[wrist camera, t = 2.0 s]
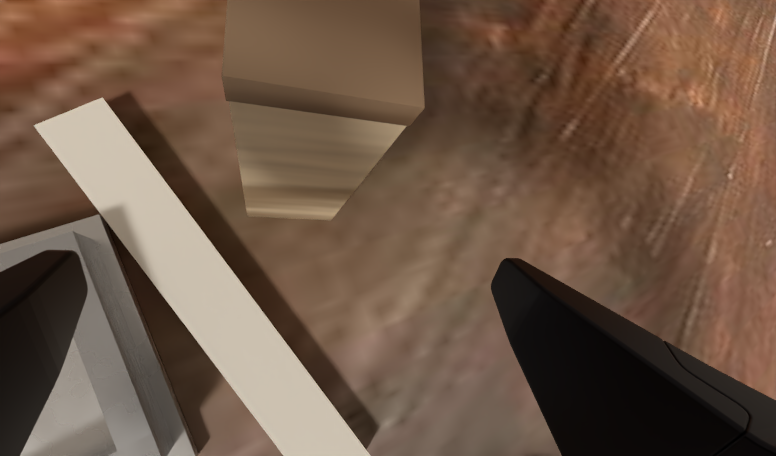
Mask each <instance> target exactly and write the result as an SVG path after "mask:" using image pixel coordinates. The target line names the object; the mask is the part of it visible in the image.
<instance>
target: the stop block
mask: <svg viewBox="0 0 776 456" xmlns="http://www.w3.org/2000/svg"><path fill="white" fill-rule="evenodd" d="M222 80H223V86H224V92H225V97H226V101H229V105H230V111H231V117H232V123H233V130H234V136H235V142H236V148H237V154H238V161H239V167H240V173H241V179H242V185H243V191H244V198H245V204H246V210H247V216H252V217H272V218H292V219H313V220H332V218H333V217H334V216H335V215H336V213H337V212H338V211H339V210H340V208H341V207H342V206H343V205H344V204H345V202H346V201H347V200H348V199H349V197H350V196H351V195H352V194H353V192H354V191H355V190H356V189H357V187H358V186H359V185H360V184H361V182H362V181H363V180H364V179H365V177H366V176H367V175H368V174H369V172H370V171H371V170H372V169H373V167H374V166H375V165H376V164H377V162H378V161H379V160H380V159H381V157H382V156H383V155H384V154H385V152H386V151H387V150H388V149H389V147H390V146H391V145H392V144H393V142H394V141H395V140H396V139H397V137H398V136H399V135H400V134H401V132H402V131H403V130H404V129H405V127H406V126H410V125H411V124H412V123H413V122H414V120H415V119H416V118H417V117H418V116H419V114H420V113H421V112H422V111H423V109H424V108H425V105H424V84H423V64H422V43H421V22H420V1H419V0H227V12H226V25H225V39H224V52H223V65H222Z"/></svg>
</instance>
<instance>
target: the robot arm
mask: <svg viewBox="0 0 776 456" xmlns="http://www.w3.org/2000/svg"><path fill="white" fill-rule="evenodd" d="M491 290H492V294H493V297H494V300H495V302H496V305H497V308H498V311H499V314H500V317H501V320H502V322H503V325H504V328H505V331H506V334H507V337H508V339H509V342H510V344H511V347H512V349H513V351H514V353H515V356H516V358H517V360H518V362H519V364H520V366H521V369H522V371H523V373H524V375H525V377H526V379H527V382H528V384H529V386H530V388H531V390H532V392H533V394H534V397H535V399H536V401H537V403H538V405H539V407H540V410H541V412H542V414H543V416H544V418H545V420H546V422H547V425H548V427H549V429H550V431H551V433H552V435H553V438H554V440H555V442H556V444H557V446H558V448H559V451H560V453H561V455H562V456H776V400H774V399H772V398H770V397H768V396H766V395H764V394H762V393H760V392H758V391H757V390H755V389H753V388H751V387H749V386H747V385H745V384H743V383H741V382H739V381H737V380H735V379H734V378H732V377H730V376H728V375H726V374H724V373H722V372H720V371H718V370H717V369H715V368H713V367H711V366H709V365H707V364H705V363H704V362H702V361H700V360H698V359H696V358H695V357H693V356H691V355H689V354H687V353H686V352H684V351H682V350H680V349H678V348H677V347H675V346H673V345H671V344H670V343H668V342H666V341H663V340H662V339H661V338H659V337H657V336H655V335H654V334H652V333H650V332H648V331H647V330H645V329H643V328H641V327H640V326H638V325H636V324H634V323H633V322H631V321H629V320H627V319H625V318H624V317H622V316H620V315H618V314H617V313H615V312H613V311H611V310H610V309H608V308H606V307H604V306H603V305H601V304H599V303H597V302H596V301H594V300H592V299H590V298H589V297H587V296H585V295H583V294H581V293H580V292H578V291H576V290H574V289H573V288H571V287H569V286H567V285H566V284H564V283H562V282H560V281H559V280H557V279H555V278H553V277H552V276H550V275H548V274H546V273H544V272H543V271H541V270H539V269H537V268H536V267H534V266H532V265H530V264H529V263H527V262H525V261H523V260H522V259H519V258H506V259H504V260H503V261H502V262H501V263H500V265H499V268H498V270H497V272H496V274H495V276H494V278H493V280H492V283H491ZM87 293H88V285H87V281H86V277H85V274H84V270H83V267H82V263H81V260H80V257H79V255H78V253H77V252H75V251H73V250H45V251H42V252H40V253H38V254H36V255H34V256H32V257H30V258H28V259H26V260H24V261H22V262H20V263H18V264H16V265H13V266H11V267H9V268H7V269H5V270H3V271H1V272H0V456H20V455H21V453H22V451H23V449H24V447H25V445H26V443H27V441H28V439H29V436H30V434H31V432H32V430H33V428H34V426H35V424H36V422H37V420H38V418H39V416H40V414H41V412H42V410H43V408H44V406H45V404H46V402H47V400H48V398H49V396H50V394H51V392H52V390H53V388H54V386H55V383H56V381H57V379H58V377H59V375H60V372H61V370H62V367H63V364H64V362H65V359H66V356H67V353H68V350H69V347H70V344H71V341H72V339H73V336H74V333H75V330H76V327H77V324H78V321H79V318H80V315H81V312H82V310H83V307H84V304H85V301H86V298H87Z"/></svg>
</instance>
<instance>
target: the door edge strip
mask: <svg viewBox="0 0 776 456" xmlns="http://www.w3.org/2000/svg"><path fill="white" fill-rule="evenodd" d="M34 127H35V128H36V129H37V131H38V132H39V133H40V134H41V136H42V137H43V138H44V140H45V141H46V142H47V144H48V145H49V146H50V148H51V149H52V150H53V152H54V153H55V154H56V156H57V157H58V158H59V160H60V161H61V162H62V164H63V165H64V166H65V168H66V169H67V170H68V171H69V173H70V174H71V175H72V177H73V178H74V179H75V181H76V182H77V183H78V185H79V186H80V187H81V189H82V190H83V191H84V193H85V194H86V195H87V197H88V198H89V199H90V201H91V202H92V203H93V205H94V206H95V207H96V208H97V210H98V211H99V212H100V214H101V215H102V216H103V218H104V219H105V220H106V222H107V223H108V224H109V226H110V227H111V228H112V230H113V231H114V232H115V234H116V235H117V236H118V238H119V239H120V240H121V241H122V243H123V244H124V245H125V247H126V248H127V249H128V251H129V252H130V253H131V255H132V256H133V257H134V259H135V260H136V261H137V263H138V264H139V265H140V267H141V268H142V269H143V271H144V272H145V273H146V275H147V276H148V277H149V278H150V280H151V281H152V282H153V284H154V285H155V286H156V288H157V289H158V290H159V292H160V293H161V294H162V296H163V297H164V298H165V300H166V301H167V302H168V304H169V305H170V306H171V308H172V309H173V310H174V312H175V313H176V314H177V315H178V317H179V318H180V319H181V321H182V322H183V323H184V325H185V326H186V327H187V329H188V330H189V331H190V333H191V334H192V335H193V337H194V338H195V339H196V341H197V342H198V343H199V345H200V346H201V347H202V348H203V350H204V351H205V352H206V354H207V355H208V356H209V358H210V359H211V360H212V362H213V363H214V364H215V366H216V367H217V368H218V370H219V371H220V372H221V374H222V375H223V376H224V378H225V379H226V380H227V382H228V383H229V384H230V385H231V387H232V388H233V389H234V391H235V392H236V393H237V395H238V396H239V397H240V399H241V400H242V401H243V403H244V404H245V405H246V407H247V408H248V409H249V411H250V412H251V413H252V415H253V416H254V417H255V418H256V420H257V421H258V422H259V424H260V425H261V426H262V428H263V429H264V430H265V432H266V433H267V434H268V436H269V437H270V438H271V440H272V441H273V442H274V444H275V445H276V446H277V448H278V449H279V450H280V452H281V453H282V454H283V455H284V456H370V454H369V453H368V452H367V450H366V449H365V447H364V446H363V445H362V443H361V442H360V441H359V439H358V438H357V437H356V435H355V434H354V433H353V431H352V430H351V429H350V427H349V426H348V425H347V423H346V422H345V421H344V419H343V418H342V417H341V415H340V414H339V413H338V411H337V410H336V409H335V407H334V406H333V405H332V403H331V402H330V401H329V399H328V398H327V397H326V395H325V394H324V393H323V391H322V390H321V389H320V387H319V386H318V385H317V383H316V382H315V381H314V379H313V378H312V377H311V375H310V374H309V373H308V371H307V370H306V369H305V367H304V366H303V365H302V363H301V362H300V361H299V359H298V358H297V357H296V355H295V354H294V353H293V351H292V350H291V349H290V347H289V346H288V345H287V343H286V342H285V341H284V339H283V338H282V337H281V335H280V334H279V333H278V331H277V330H276V329H275V327H274V326H273V325H272V323H271V322H270V320H269V319H268V318H267V316H266V315H265V314H264V312H263V311H262V310H261V308H260V307H259V306H258V304H257V303H256V302H255V300H254V299H253V298H252V296H251V295H250V294H249V292H248V291H247V290H246V288H245V287H244V286H243V284H242V283H241V282H240V280H239V279H238V278H237V276H236V275H235V274H234V272H233V271H232V270H231V268H230V267H229V266H228V264H227V263H226V262H225V260H224V259H223V258H222V256H221V255H220V254H219V252H218V251H217V250H216V248H215V247H214V246H213V244H212V243H211V242H210V240H209V239H208V238H207V236H206V235H205V234H204V232H203V231H202V230H201V228H200V227H199V226H198V224H197V223H196V222H195V220H194V219H193V218H192V216H191V215H190V214H189V212H188V211H187V210H186V208H185V207H184V206H183V204H182V203H181V202H180V200H179V199H178V198H177V196H176V195H175V194H174V192H173V191H172V190H171V188H170V187H169V186H168V184H167V183H166V182H165V180H164V179H163V177H162V176H161V175H160V173H159V172H158V171H157V169H156V168H155V167H154V165H153V164H152V163H151V161H150V160H149V159H148V157H147V156H146V155H145V153H144V152H143V151H142V149H141V148H140V147H139V145H138V144H137V143H136V141H135V140H134V139H133V137H132V136H131V135H130V133H129V132H128V131H127V129H126V128H125V127H124V125H123V124H122V123H121V121H120V120H119V119H118V117H117V116H116V115H115V113H114V112H113V111H112V109H111V108H110V107H109V105H108V104H107V103H106V101H105V100H104V99H103V98H100V99H98V100H95V101H93V102H90V103H88V104H85V105H83V106H80V107H78V108H75V109H73V110H71V111H68V112H66V113H63V114H61V115H58V116H56V117H53V118H51V119H49V120H46V121H44V122H41V123H39V124H36V125H34Z"/></svg>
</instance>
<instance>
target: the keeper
mask: <svg viewBox="0 0 776 456" xmlns="http://www.w3.org/2000/svg"><path fill="white" fill-rule="evenodd" d="M45 250H73V251H75V252H77V253H78V255H79V257H80V260H81V263H82V267H83V270H84V274H85V277H86V281H87V285H88V293H87V298H86V301H85V304H84V307H83V310H82V312H81V315H80V318H79V321H78V324H77V327H76V330H75V333H74V336H73V339H72V341H71V344H70V347H69V350H68V353H67V356H66V359H65V362H64V364H63V367H62V370H61V372H60V375H59V377H58V379H57V381H56V383H55V386H54V388H53V390H52V392H51V394H50V396H49V398H48V400H47V402H46V404H45V406H44V408H43V410H42V412H41V414H40V416H39V418H38V420H37V422H36V424H35V426H34V428H33V430H32V432H31V434H30V436H29V439H28V441H27V443H26V445H25V447H24V449H23V451H22V453H21V455H20V456H198V455H199V454H198V451H197V449H196V446H195V444H194V441H193V439H192V436H191V434H190V431H189V429H188V426H187V424H186V421H185V419H184V416H183V414H182V411H181V409H180V406H179V404H178V401H177V399H176V396H175V394H174V391H173V389H172V386H171V384H170V381H169V379H168V376H167V374H166V371H165V369H164V366H163V364H162V361H161V359H160V356H159V354H158V351H157V349H156V346H155V344H154V341H153V339H152V336H151V334H150V331H149V329H148V326H147V324H146V321H145V319H144V316H143V314H142V311H141V309H140V306H139V304H138V301H137V299H136V296H135V294H134V291H133V289H132V286H131V284H130V281H129V279H128V276H127V274H126V271H125V269H124V266H123V263H122V261H121V258H120V256H119V253H118V251H117V248H116V246H115V243H114V241H113V238H112V236H111V233H110V231H109V228H108V226H107V223H106V221H105V219H104V218H103V216H101V215H95V216H92V217H89V218H85V219H82V220H79V221H75V222H72V223H69V224H65V225H62V226H59V227H55V228H52V229H49V230H45V231H42V232H39V233H35V234H32V235H29V236H25V237H22V238H19V239H15V240H12V241H9V242H6V243H2V244H0V272H1V271H3V270H5V269H7V268H9V267H11V266H13V265H16V264H18V263H20V262H22V261H24V260H26V259H28V258H30V257H32V256H34V255H36V254H38V253H40V252H42V251H45Z"/></svg>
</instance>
